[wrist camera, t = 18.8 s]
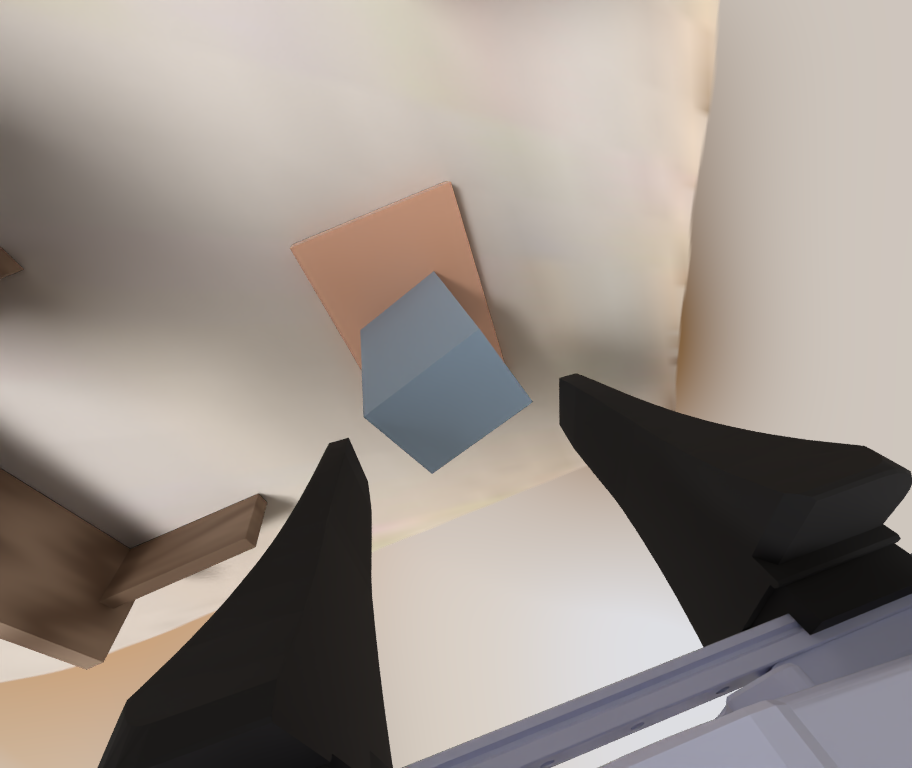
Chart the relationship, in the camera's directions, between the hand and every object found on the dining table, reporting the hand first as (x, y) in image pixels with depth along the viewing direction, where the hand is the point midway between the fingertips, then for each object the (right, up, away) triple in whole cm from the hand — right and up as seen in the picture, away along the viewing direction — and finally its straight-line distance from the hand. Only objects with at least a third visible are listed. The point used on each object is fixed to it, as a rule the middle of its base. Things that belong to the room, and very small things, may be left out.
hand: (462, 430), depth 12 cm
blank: (-2, +5, +8) cm, 9 cm away
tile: (-3, +5, +9) cm, 10 cm away
